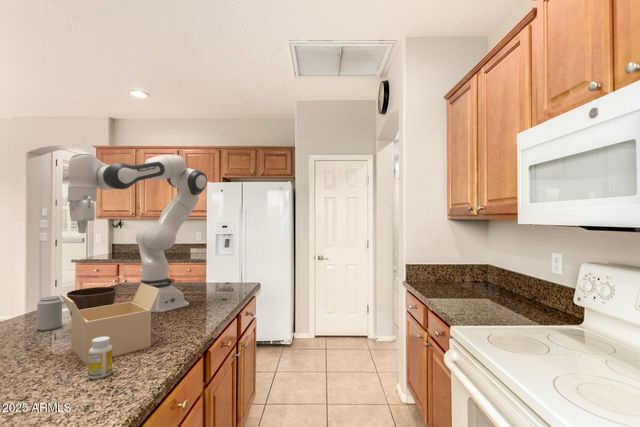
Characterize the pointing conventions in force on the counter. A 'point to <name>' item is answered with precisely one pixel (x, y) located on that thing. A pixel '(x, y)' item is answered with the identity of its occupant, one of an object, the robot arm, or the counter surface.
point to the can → (49, 313)
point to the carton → (112, 328)
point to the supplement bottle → (100, 358)
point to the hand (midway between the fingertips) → (81, 233)
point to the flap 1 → (72, 307)
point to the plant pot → (92, 297)
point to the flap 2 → (146, 295)
